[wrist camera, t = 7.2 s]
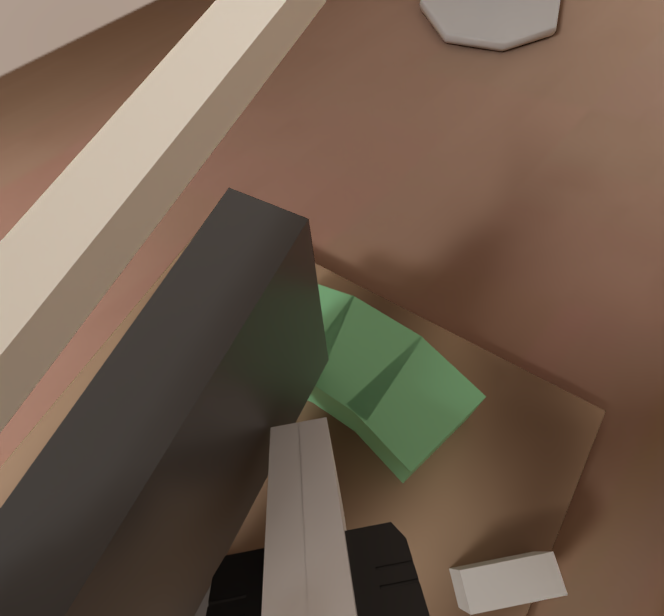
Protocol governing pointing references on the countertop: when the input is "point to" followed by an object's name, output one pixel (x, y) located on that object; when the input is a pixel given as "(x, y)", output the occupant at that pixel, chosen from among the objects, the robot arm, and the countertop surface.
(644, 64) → the countertop surface
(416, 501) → the brown square base board
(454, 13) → the wineglass
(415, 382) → the gauge marks
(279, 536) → the robot arm
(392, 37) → the countertop surface
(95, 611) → the signpost stand
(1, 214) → the countertop surface
